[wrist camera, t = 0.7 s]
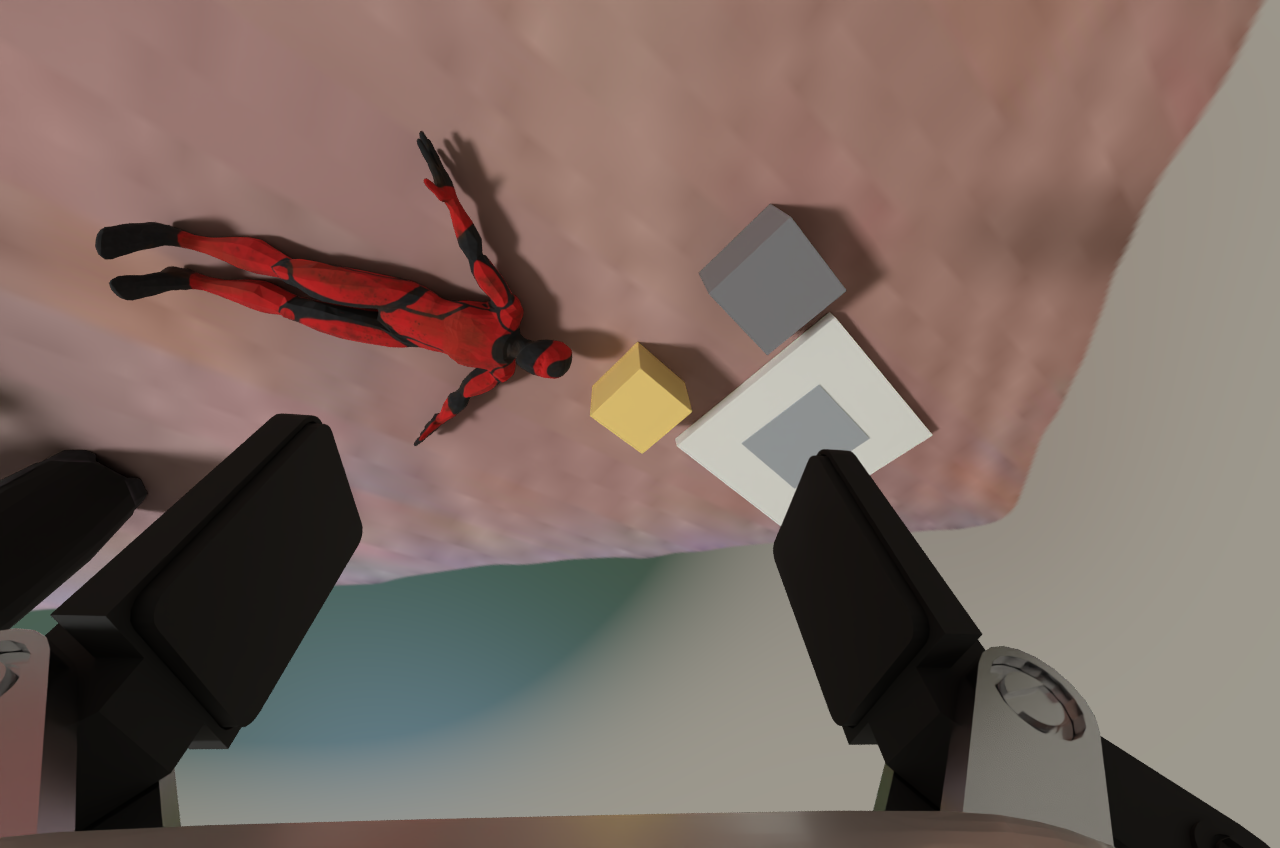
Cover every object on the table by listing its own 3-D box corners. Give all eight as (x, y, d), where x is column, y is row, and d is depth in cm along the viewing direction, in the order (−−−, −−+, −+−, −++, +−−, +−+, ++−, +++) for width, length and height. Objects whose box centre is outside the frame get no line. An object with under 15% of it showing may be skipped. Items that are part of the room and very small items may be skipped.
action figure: (6, 12, 22) (604, 202, 26) (133, 33, 28) (612, 188, 32) (161, 426, 36) (536, 507, 40) (225, 385, 41) (550, 460, 46)
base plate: (829, 311, 38) (835, 317, 37) (925, 428, 46) (933, 435, 45) (675, 438, 45) (676, 446, 44) (781, 521, 53) (784, 529, 52)
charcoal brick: (769, 203, 33) (790, 216, 29) (820, 269, 36) (846, 290, 32) (698, 272, 36) (708, 293, 32) (751, 329, 39) (767, 355, 35)
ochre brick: (637, 341, 39) (640, 368, 35) (684, 382, 42) (692, 411, 38) (592, 385, 42) (590, 416, 37) (639, 421, 44) (642, 453, 40)
